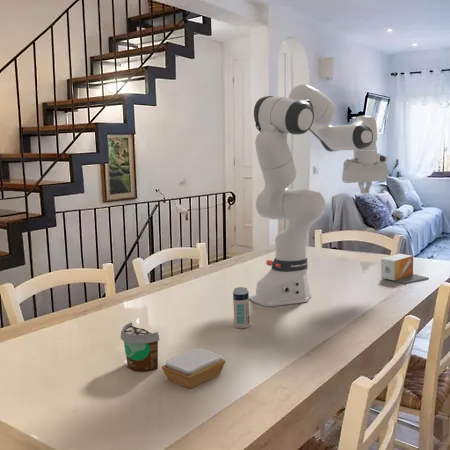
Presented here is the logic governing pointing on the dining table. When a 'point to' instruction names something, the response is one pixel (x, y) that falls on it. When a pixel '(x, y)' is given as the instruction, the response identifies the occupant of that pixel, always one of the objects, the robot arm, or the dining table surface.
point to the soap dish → (193, 367)
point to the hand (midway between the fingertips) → (364, 193)
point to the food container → (140, 348)
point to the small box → (396, 266)
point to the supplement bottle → (241, 307)
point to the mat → (410, 279)
